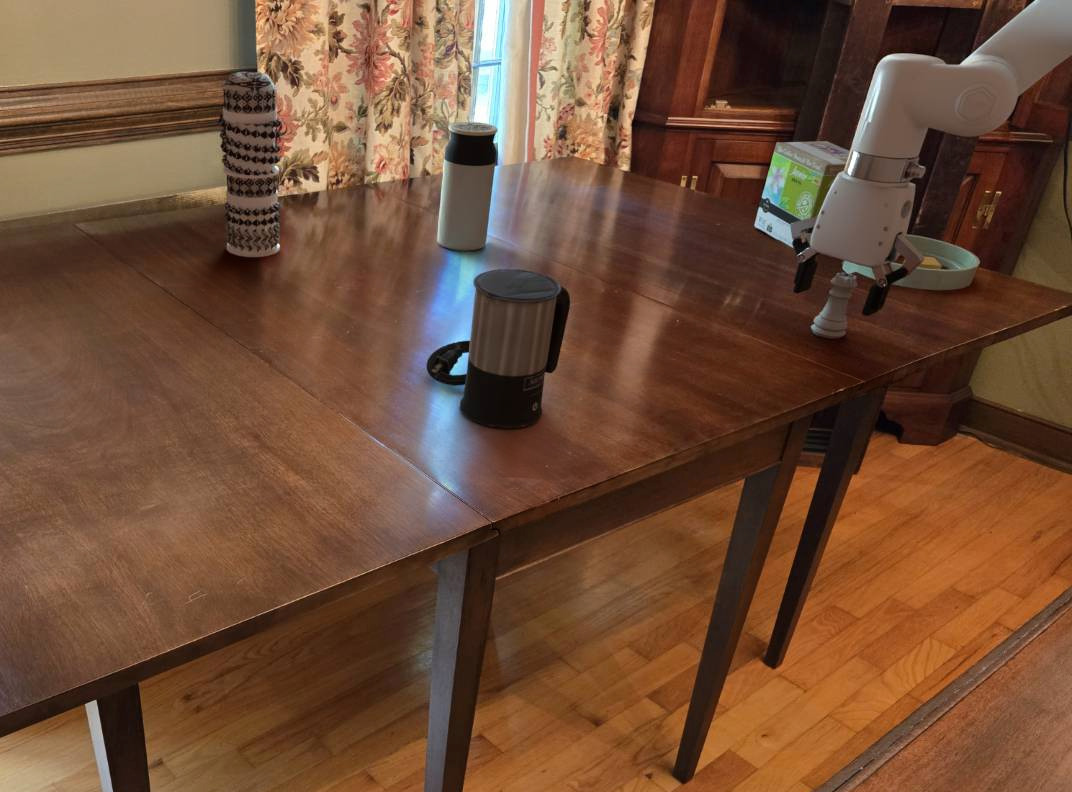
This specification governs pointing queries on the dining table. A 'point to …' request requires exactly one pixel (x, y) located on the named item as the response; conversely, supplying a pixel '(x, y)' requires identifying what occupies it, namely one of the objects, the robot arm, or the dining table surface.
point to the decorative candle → (251, 164)
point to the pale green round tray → (932, 279)
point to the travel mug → (467, 186)
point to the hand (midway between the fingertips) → (834, 302)
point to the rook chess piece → (835, 308)
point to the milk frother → (507, 347)
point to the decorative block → (929, 263)
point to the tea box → (798, 185)
